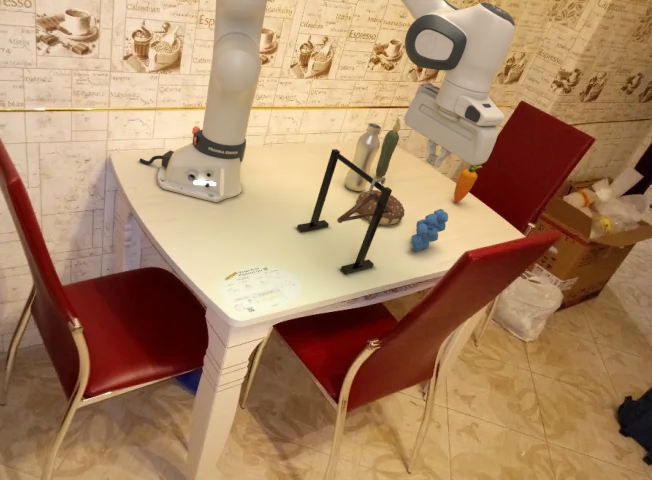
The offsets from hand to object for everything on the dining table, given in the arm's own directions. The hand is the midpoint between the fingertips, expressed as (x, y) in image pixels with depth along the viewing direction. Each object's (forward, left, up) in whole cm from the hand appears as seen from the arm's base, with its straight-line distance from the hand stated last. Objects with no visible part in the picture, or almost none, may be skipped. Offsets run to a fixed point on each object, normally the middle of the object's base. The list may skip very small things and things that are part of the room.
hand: (432, 164), depth 108 cm
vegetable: (+10, +52, -29) cm, 60 cm away
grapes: (+13, +14, -29) cm, 35 cm away
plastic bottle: (0, +42, -29) cm, 51 cm away
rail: (-12, +8, -29) cm, 32 cm away
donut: (+4, +28, -29) cm, 41 cm away
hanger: (-9, +2, -16) cm, 19 cm away
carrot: (+35, +44, -29) cm, 63 cm away
